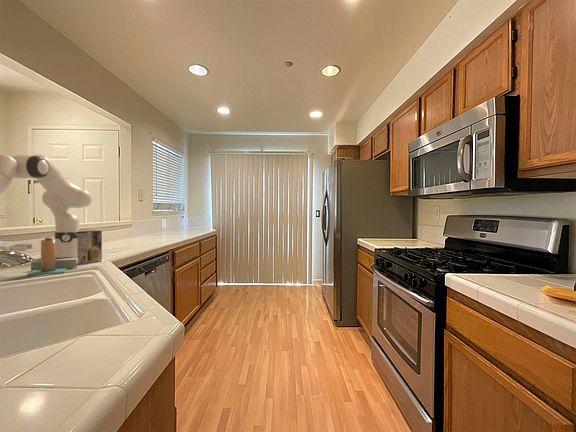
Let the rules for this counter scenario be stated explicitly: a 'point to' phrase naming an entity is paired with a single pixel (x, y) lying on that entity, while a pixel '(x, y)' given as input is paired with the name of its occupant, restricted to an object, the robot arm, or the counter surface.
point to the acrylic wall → (59, 264)
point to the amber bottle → (48, 255)
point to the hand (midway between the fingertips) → (29, 247)
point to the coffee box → (89, 246)
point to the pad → (38, 272)
